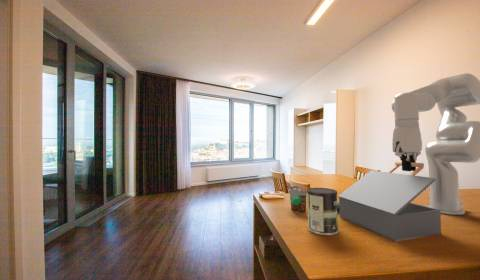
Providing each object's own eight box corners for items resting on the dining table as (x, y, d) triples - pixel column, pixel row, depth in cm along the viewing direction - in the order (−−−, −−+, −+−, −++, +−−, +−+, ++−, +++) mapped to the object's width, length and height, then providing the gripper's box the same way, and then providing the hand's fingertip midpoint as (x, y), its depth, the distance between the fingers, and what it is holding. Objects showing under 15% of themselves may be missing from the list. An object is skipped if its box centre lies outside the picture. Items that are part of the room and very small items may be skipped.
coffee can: (337, 226, 79) (336, 188, 80) (339, 237, 70) (338, 194, 70) (308, 223, 83) (307, 186, 83) (306, 233, 73) (305, 192, 74)
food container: (285, 206, 106) (285, 186, 106) (297, 205, 107) (297, 185, 107) (293, 214, 94) (293, 191, 94) (307, 213, 94) (306, 191, 95)
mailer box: (377, 212, 94) (377, 194, 94) (441, 234, 71) (440, 210, 71) (339, 217, 89) (339, 198, 89) (395, 242, 66) (394, 216, 66)
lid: (383, 163, 96) (381, 159, 96) (448, 168, 73) (446, 163, 72) (338, 197, 90) (336, 193, 89) (395, 216, 66) (392, 210, 66)
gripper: (411, 125, 90) (413, 168, 90) (382, 125, 86) (384, 171, 86) (431, 123, 83) (434, 170, 82) (401, 123, 79) (403, 173, 78)
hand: (408, 170), depth 84 cm, fingers closed on lid
